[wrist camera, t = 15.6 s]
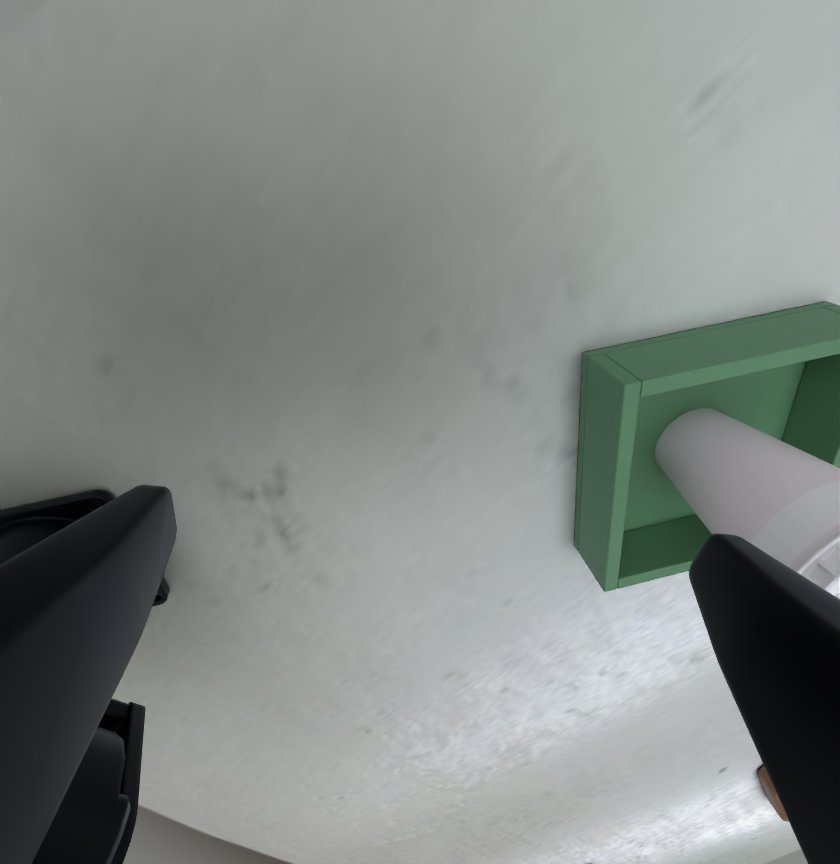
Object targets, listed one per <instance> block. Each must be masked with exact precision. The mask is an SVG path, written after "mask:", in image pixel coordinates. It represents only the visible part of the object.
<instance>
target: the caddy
mask: <svg viewBox="0 0 840 864" xmlns="http://www.w3.org/2000/svg"><path fill="white" fill-rule="evenodd" d="M698 408H712V409H715V410H717V411H719V412H721V413H723V414H725V415H728V416H730V417H732V418H734V419H736V420H738V421H740V422H742V423H745V424H747V425H749V426H751V427H753V428H755V429H757V430H759V431H762V432H764V433H766V434H768V435H770V436H772V437H774V438H776V439H779V440H781V441H783V442H785V443H787V444H789V445H791V446H793V447H796V448H798V449H800V450H802V451H804V452H806V453H808V454H810V455H813V456H815V457H817V458H819V459H821V460H823V461H825V462H827V463H830V464H832V465H834V466H836V467H838V468H840V306H839V305H836V304H833V303H830V302H822V303H817V304H812V305H807V306H803V307H798V308H793V309H788V310H783V311H779V312H774V313H769V314H764V315H760V316H755V317H750V318H745V319H741V320H736V321H731V322H726V323H722V324H717V325H712V326H707V327H702V328H698V329H693V330H688V331H683V332H679V333H674V334H669V335H664V336H660V337H655V338H650V339H645V340H641V341H636V342H631V343H626V344H621V345H617V346H612V347H607V348H602V349H598V350H593V351H588V352H584V353H583V359H582V382H581V404H580V426H579V448H578V471H577V493H576V515H575V537H574V546H575V547H576V549H577V551H579V553H580V555H581V556H582V558H583V560H584V561H585V563H586V564H587V566H588V567H589V569H590V570H591V572H592V574H593V575H594V577H595V578H596V580H597V581H598V583H599V584H600V586H601V588H602V589H603V591H604V592H606V591H610V590H614V589H617V588H622V587H626V586H630V585H634V584H638V583H642V582H646V581H650V580H654V579H658V578H662V577H665V576H669V575H673V574H677V573H681V572H685V571H689V569H690V566H691V564H692V562H693V560H694V559H695V557H696V555H697V554H698V552H699V551H700V549H701V547H702V546H703V544H704V543H705V541H706V539H707V538H708V537H709V536H711V535H712V534H711V532H710V531H709V530H708V528H707V527H706V526H705V525H704V523H703V522H702V521H701V519H700V518H699V517H698V516H697V514H696V513H695V512H694V511H693V509H692V508H691V507H690V505H689V504H688V503H687V502H686V500H685V499H684V498H683V497H682V495H681V494H680V493H679V491H678V490H677V489H676V488H675V486H674V485H673V484H672V482H671V481H670V480H669V479H668V477H667V476H666V475H665V474H664V472H663V471H662V470H661V468H660V467H659V466H658V464H657V463H656V460H655V447H656V444H657V441H658V439H659V437H660V435H661V434H662V432H663V431H664V430H665V428H666V427H667V426H668V425H669V424H670V423H671V422H672V421H674V420H675V419H676V418H678V417H679V416H681V415H682V414H684V413H686V412H688V411H691V410H694V409H698Z"/></svg>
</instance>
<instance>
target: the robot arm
mask: <svg viewBox="0 0 840 864" xmlns="http://www.w3.org/2000/svg"><path fill="white" fill-rule="evenodd" d="M93 501H98V502H100V503H102V504H103V505H98V504H96V503H94V502H93ZM176 532H177V527H176V520H175V513H174V507H173V500H172V495H171V492H170V490H169V489H168V488H166V487H163V486H151V485H140V486H137V487H135V488H133V489H131V490H129V491H128V492H126V493H124V494H122V495H121V496H119V497H117V498H116V499H114V498H113V497H112V496H111V495H110V494H109V493H107V492H105V491H101V490H93V491H88V492H84V493H79V494H75V495H70V496H65V497H61V498H56V499H51V500H47V501H42V502H38V503H33V504H28V505H24V506H19V507H14V508H10V509H5V510H0V864H122V863H123V861H124V858H125V856H126V852H127V850H128V847H129V844H130V842H131V838H132V833H133V830H134V826H135V822H136V815H137V809H138V797H139V784H140V771H141V758H142V745H143V732H144V719H145V707H144V706H141V705H138V704H136V703H133V702H130V703H128V704H126V703H123V702H120V701H118V700H115V699H112V696H113V694H114V692H115V690H116V688H117V686H118V684H119V682H120V679H121V677H122V675H123V673H124V671H125V669H126V667H127V665H128V663H129V661H130V659H131V657H132V655H133V652H134V650H135V648H136V646H137V644H138V642H139V639H140V637H141V635H142V633H143V630H144V627H145V625H146V622H147V619H148V617H149V614H150V611H151V608H152V606H156V605H160V604H163V603H164V602H165V601H166V600H167V597H168V594H169V588H168V586H167V585H166V583H165V581H164V580H163V578H162V577H163V574H164V571H165V568H166V565H167V562H168V559H169V557H170V554H171V551H172V548H173V545H174V542H175V538H176ZM689 577H690V581H691V584H692V587H693V590H694V593H695V596H696V599H697V602H698V605H699V608H700V611H701V614H702V617H703V620H704V623H705V625H706V628H707V631H708V634H709V637H710V640H711V643H712V646H713V649H714V652H715V654H716V657H717V660H718V663H719V665H720V667H721V670H722V672H723V675H724V677H725V679H726V681H727V684H728V686H729V688H730V690H731V693H732V695H733V697H734V699H735V702H736V704H737V706H738V708H739V710H740V713H741V715H742V717H743V719H744V722H745V724H746V726H747V728H748V731H749V733H750V735H751V737H752V739H753V742H754V744H755V746H756V748H757V751H758V753H759V755H760V757H761V760H762V762H763V764H764V766H765V769H766V771H767V773H768V775H769V777H770V780H771V782H772V784H773V786H774V789H775V791H776V793H777V795H778V798H779V800H780V802H781V804H782V806H783V809H784V811H785V813H786V815H787V818H788V820H789V822H790V824H791V827H792V829H793V831H794V833H795V835H796V838H797V840H798V842H799V844H800V847H801V849H802V851H803V853H804V855H805V858H806V860H807V862H808V864H840V599H839V598H837V597H835V596H834V595H832V594H831V593H829V592H827V591H826V590H824V589H823V588H821V587H819V586H818V585H816V584H815V583H813V582H812V581H810V580H808V579H807V578H805V577H804V576H802V575H800V574H799V573H797V572H796V571H794V570H792V569H791V568H789V567H788V566H786V565H784V564H783V563H781V562H780V561H778V560H776V559H775V558H773V557H772V556H770V555H768V554H767V553H765V552H764V551H762V550H760V549H759V548H757V547H756V546H754V545H752V544H751V543H749V542H748V541H746V540H745V539H743V538H741V537H739V536H736V535H730V534H718V533H717V534H712V535H711V536H709V537H708V538H707V539H706V541H705V543H704V544H703V546H702V547H701V549H700V551H699V552H698V554H697V555H696V557H695V559H694V560H693V562H692V564H691V566H690V569H689ZM157 594H158V595H157Z"/></svg>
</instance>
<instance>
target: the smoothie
mask: <svg viewBox="0 0 840 864" xmlns="http://www.w3.org/2000/svg"><path fill="white" fill-rule="evenodd" d="M655 460H656V463H657V464H658V466H659V467H660V468H661V470H662V471H663V472H664V474H665V475H666V476H667V477H668V479H669V480H670V481H671V482H672V484H673V485H674V486H675V488H676V489H677V490H678V491H679V493H680V494H681V495H682V497H683V498H684V499H685V500H686V502H687V503H688V504H689V505H690V507H691V508H692V509H693V511H694V512H695V513H696V514H697V516H698V517H699V518H700V519H701V521H702V522H703V523H704V525H705V526H706V527H707V528H708V530H709V531H710V532H711V534H717V533H718V534H730V535H736V536H739V537H741V538H743V539H745V540H746V541H748V542H749V543H751V544H752V545H754V546H756V547H757V548H759V549H760V550H762V551H764V552H765V553H767V554H768V555H770V556H772V557H773V558H775V559H776V560H778V561H780V562H781V563H783V564H784V565H786V566H788V567H789V568H791V569H792V570H794V571H796V572H797V573H799V574H800V575H802V576H804V577H805V578H807V579H808V580H810V581H812V582H813V583H815V584H816V585H818V586H819V587H821V588H823V589H824V590H826V591H827V592H829V593H831V594H832V595H834V596H835V597H837V598H839V599H840V468H838V467H836V466H834V465H832V464H830V463H827V462H825V461H823V460H821V459H819V458H817V457H815V456H813V455H810V454H808V453H806V452H804V451H802V450H800V449H798V448H796V447H793V446H791V445H789V444H787V443H785V442H783V441H781V440H779V439H776V438H774V437H772V436H770V435H768V434H766V433H764V432H762V431H759V430H757V429H755V428H753V427H751V426H749V425H747V424H745V423H742V422H740V421H738V420H736V419H734V418H732V417H730V416H728V415H725V414H723V413H721V412H719V411H717V410H715V409H712V408H698V409H694V410H691V411H688V412H686V413H684V414H682V415H681V416H679V417H678V418H676V419H675V420H674V421H672V422H671V423H670V424H669V425H668V426H667V427H666V428H665V430H664V431H663V432H662V434H661V435H660V437H659V439H658V441H657V444H656V447H655Z"/></svg>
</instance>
